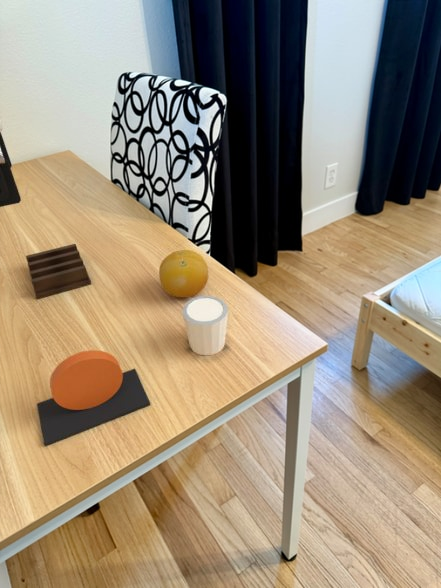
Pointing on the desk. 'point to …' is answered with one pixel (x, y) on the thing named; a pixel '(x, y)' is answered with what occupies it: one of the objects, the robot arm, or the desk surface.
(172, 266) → the fruit
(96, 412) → the mat
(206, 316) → the shot glass
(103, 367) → the disc
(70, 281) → the rack
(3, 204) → the robot arm
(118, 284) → the desk surface
